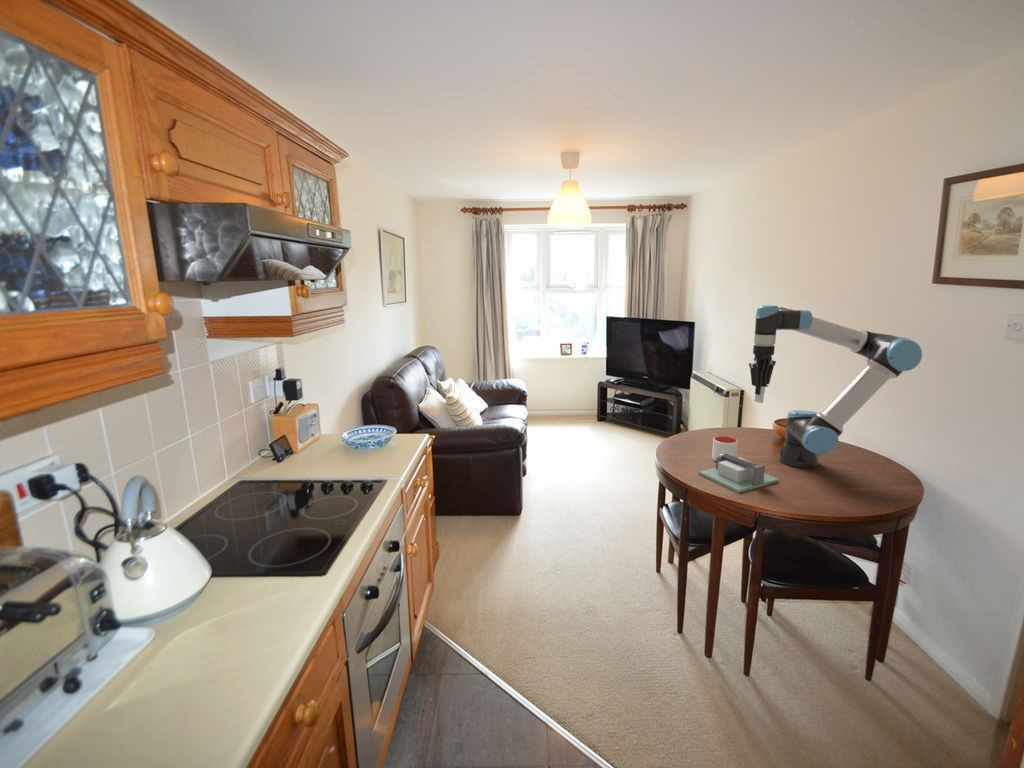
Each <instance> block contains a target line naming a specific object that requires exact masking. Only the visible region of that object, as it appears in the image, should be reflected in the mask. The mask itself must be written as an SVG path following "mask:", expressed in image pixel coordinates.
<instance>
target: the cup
mask: <svg viewBox="0 0 1024 768" xmlns="http://www.w3.org/2000/svg"><path fill="white" fill-rule="evenodd" d="M738 445H739V440H738V439H737V438H735V437H731V436H728V435H718V436H714V437H713V439H712V451H711V457H712V460H713V461H715V462H716V457H718V455H722V454H726V453H727V454H728V455H730V456H733V457H736V458H738V457H737V456H738Z"/></svg>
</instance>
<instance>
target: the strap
mask: <svg viewBox="0 0 1024 768" xmlns="http://www.w3.org/2000/svg"><path fill="white" fill-rule="evenodd" d="M718 457H719V458H725V459H728V460H730V461H733V462H736V463H739V464H742V465H745V466H748V467H751V468H752V467H753V466H756V465H759V464H758V463H755V462H753V463H752V461H750V460H747V459H745V460H742V459H743V458H742V459H739V458H738V457H737V458H736V457H733V456H730V455H728V454H727V453H726V454H722V455H718ZM746 460H747V461H746ZM749 461H750V462H749Z"/></svg>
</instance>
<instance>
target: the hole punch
mask: <svg viewBox="0 0 1024 768" xmlns="http://www.w3.org/2000/svg"><path fill="white" fill-rule="evenodd" d="M737 458H739V459H742V460H746V461H749V462H752V461H750V460H747V459H745V458H743V457H740V456H738V457H737ZM752 463H754V462H752ZM765 470H766V465H765V464H762V463H761V464H758V465H756V466H753V467H752V468H751V467H748V466H745V465H742V464H739V463H736V462H733V461H730V460H728V459H725V458H719V457H716V461H715V467H712V468H709V469H704V470H701V471H699V472H698V475H699V476H701V477H704V478H706V479H707V480H710V481H712V482H714V483H717V484H719V485H720V486H722V487H725V488H727V489H729V490H731V491H733V492H735V493H737V494H740V493H744V492H747V491H751V490H755V489H758V488H761V487H765V486H768V485H771V484H775V483H778V482H779V478H777V477H774V476H772V475H769V474H768V473H765Z"/></svg>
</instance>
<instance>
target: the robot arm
mask: <svg viewBox="0 0 1024 768" xmlns="http://www.w3.org/2000/svg"><path fill="white" fill-rule="evenodd" d="M754 327H755V328H754V329H755V330H754V338H753V344H754V345H753V350H752V354H753V355H754V358H753V361H752V362H750V363H748V367H749V369H750V380H751V381H750V382H751V385H752V386H753V387H755V389H754V394H755V395H754V396H755V398H754V402H755V403H760V404H762V403H764V399H765V397H764V396H765V391H766V388H767V387H769V386H768V385H770V382H771V379H772V375H773V371H774V367H775V365H776V364H777V361H776V360H774V359H773V357H772V356H774V355H775V349H776V348H775V347H776V346H775V344H776V339H777V330H778V331H780V330H781V331H782V330H786V331H789V330H790V331H793V332H797V333H800V334H804V335H807V336H810V337H812V338H816V339H819V340H822V341H825V342H829V343H832V344H834V345H838V346H840V347H843V348H847V349H849V350H850V352H852V353H854V354H857V355H860V356H862V357H865V358H867V359H866V363H867V364H866V366H865V367H864V368H863V370H862V371H861V372H860V373H858V374H857V376H856V377H855V378H854V379H853V380H851V382H850V383H849V384H848V385H847V386H845V388H844V389H843V390H842V391H841V393H839V395H837V397H836V398H835V399H834V400H832V402H831V403H829V405H828V406H827V407H826V408H825V409H824V410H823V411H822V412H817V411H811V410H797V409H795V410H791V411H789V412H788V413H787V417H786V427H785V436H784V437H785V438H784V443H783V446H782V447H781V449H780V451H779V453H778V461H779V462H781V463H782V464H784V465H787V466H791V467H794V468H800V469H801V468H802V469H813V468H817V467H818V466H819V455H825V454H829V453H830V452H832V451H834V450H835V449H836V448H837V446H838V445H839V437H840V436H841V435H842V434H843V433H844V428H843V427H844V425H846V424H847V422H848V421H850V419H851V418H852V417H853V416H854V415H856V413H857V412H858V411H859V410H860V409H861V408H862V407H863V406H864V405H865V404H866V403H867V402H868V401H869V400H870V399H871V398H873V396H874V395H875V394H876V392H878V391H879V390H880V389H881V388H882V387H883V386H884V385H885V384H886V383H887V382H888V381H889V380H890V379H897V378H898V377H899V376H900V375H901V374H902V373H903V372H907V371H912V370H914V369H915V368H916V367H917V366H919V364H920V363H921V361H922V360H923V350H922V347H921V346H920V345H919V344H918V343H917V341H914V340H911V339H909V338H907V337H900V336H895V335H892V334H885V333H879V332H874V331H873V332H872V331H868V330H864V329H861V330H857V329H855V328H854V329H852V328H850V327H846V326H843V325H840V324H837V323H834V322H831V321H827V320H824V319H822V318H819V317H816V316H815V317H814V316H813V314H812V312H811V311H810V310H804V309H799V310H798V309H797V310H796V309H792V308H786V307H779V306H778V305H769V304H768V305H766V304H765V305H763V304H762V305H759V306H758V307H757V309H756V315H755V326H754Z"/></svg>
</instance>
